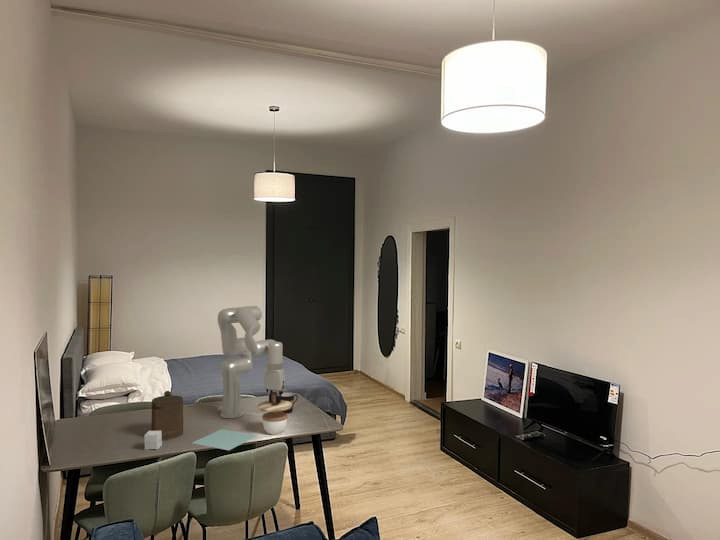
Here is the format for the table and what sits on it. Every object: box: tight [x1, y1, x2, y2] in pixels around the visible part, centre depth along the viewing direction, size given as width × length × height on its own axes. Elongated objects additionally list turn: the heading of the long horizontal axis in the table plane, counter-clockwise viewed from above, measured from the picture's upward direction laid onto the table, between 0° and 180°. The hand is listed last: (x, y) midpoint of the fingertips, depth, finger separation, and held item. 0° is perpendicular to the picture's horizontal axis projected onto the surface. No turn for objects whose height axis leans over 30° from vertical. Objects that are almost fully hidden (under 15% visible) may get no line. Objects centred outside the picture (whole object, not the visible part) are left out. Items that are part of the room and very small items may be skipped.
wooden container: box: [151, 390, 184, 441], centre depth 264 cm, size 15×15×22 cm
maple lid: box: [257, 391, 292, 413], centre depth 268 cm, size 17×17×7 cm
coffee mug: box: [280, 391, 298, 414], centre depth 305 cm, size 12×9×10 cm
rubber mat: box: [191, 428, 258, 451], centre depth 258 cm, size 22×22×1 cm
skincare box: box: [143, 430, 163, 451], centre depth 247 cm, size 6×6×7 cm
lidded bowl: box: [261, 411, 288, 436], centre depth 269 cm, size 13×13×11 cm
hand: (275, 402), depth 268 cm, fingers closed on maple lid, 3 cm apart
